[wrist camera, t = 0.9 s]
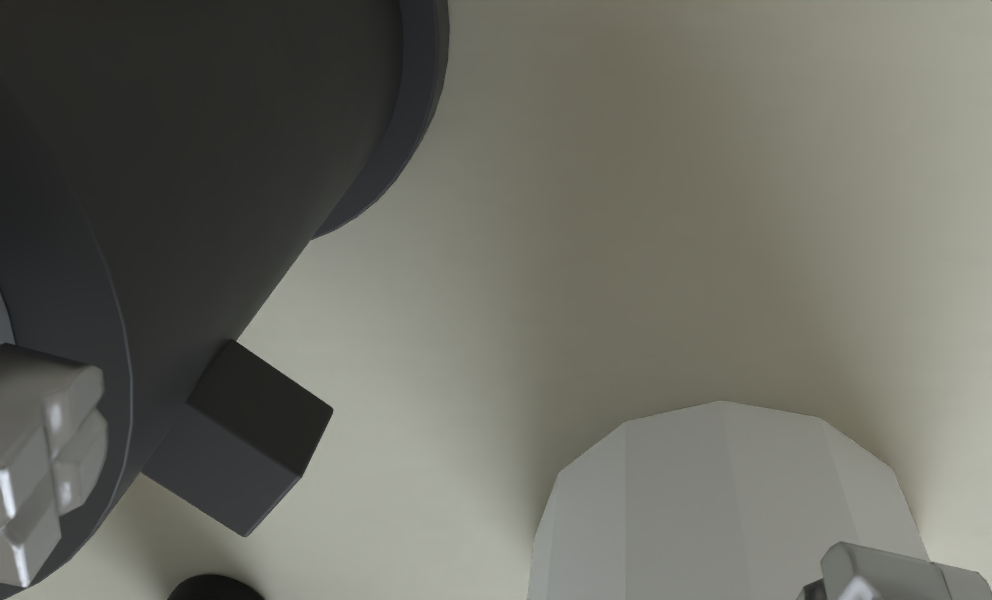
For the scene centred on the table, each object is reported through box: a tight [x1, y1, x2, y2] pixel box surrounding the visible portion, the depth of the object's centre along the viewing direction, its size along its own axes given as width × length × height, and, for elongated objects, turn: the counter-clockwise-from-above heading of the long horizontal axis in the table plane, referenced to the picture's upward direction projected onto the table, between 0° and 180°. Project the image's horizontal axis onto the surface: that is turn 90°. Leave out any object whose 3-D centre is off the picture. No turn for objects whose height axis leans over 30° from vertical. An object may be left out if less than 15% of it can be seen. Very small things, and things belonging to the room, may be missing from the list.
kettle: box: [0, 0, 449, 600], centre depth 20 cm, size 18×15×19 cm
